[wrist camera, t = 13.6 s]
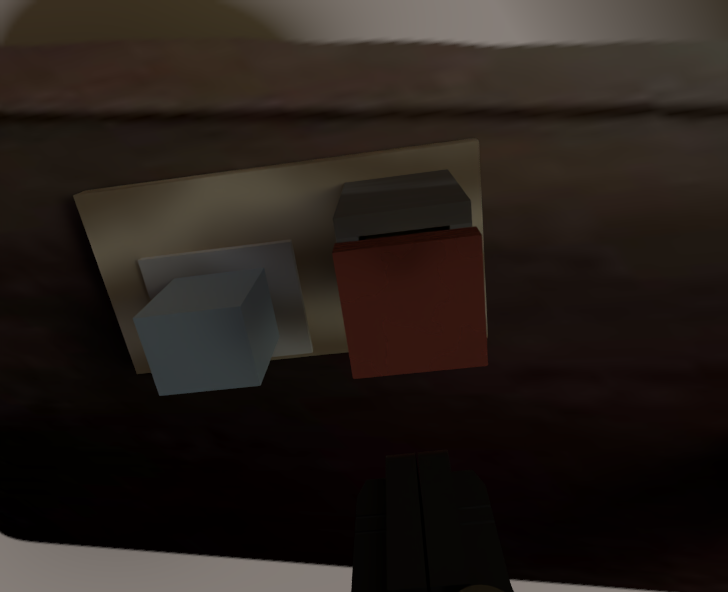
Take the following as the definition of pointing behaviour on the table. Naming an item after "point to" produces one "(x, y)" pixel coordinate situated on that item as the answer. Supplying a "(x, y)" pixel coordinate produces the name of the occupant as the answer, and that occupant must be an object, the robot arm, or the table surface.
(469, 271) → the block
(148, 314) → the block
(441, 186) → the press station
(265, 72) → the table surface
